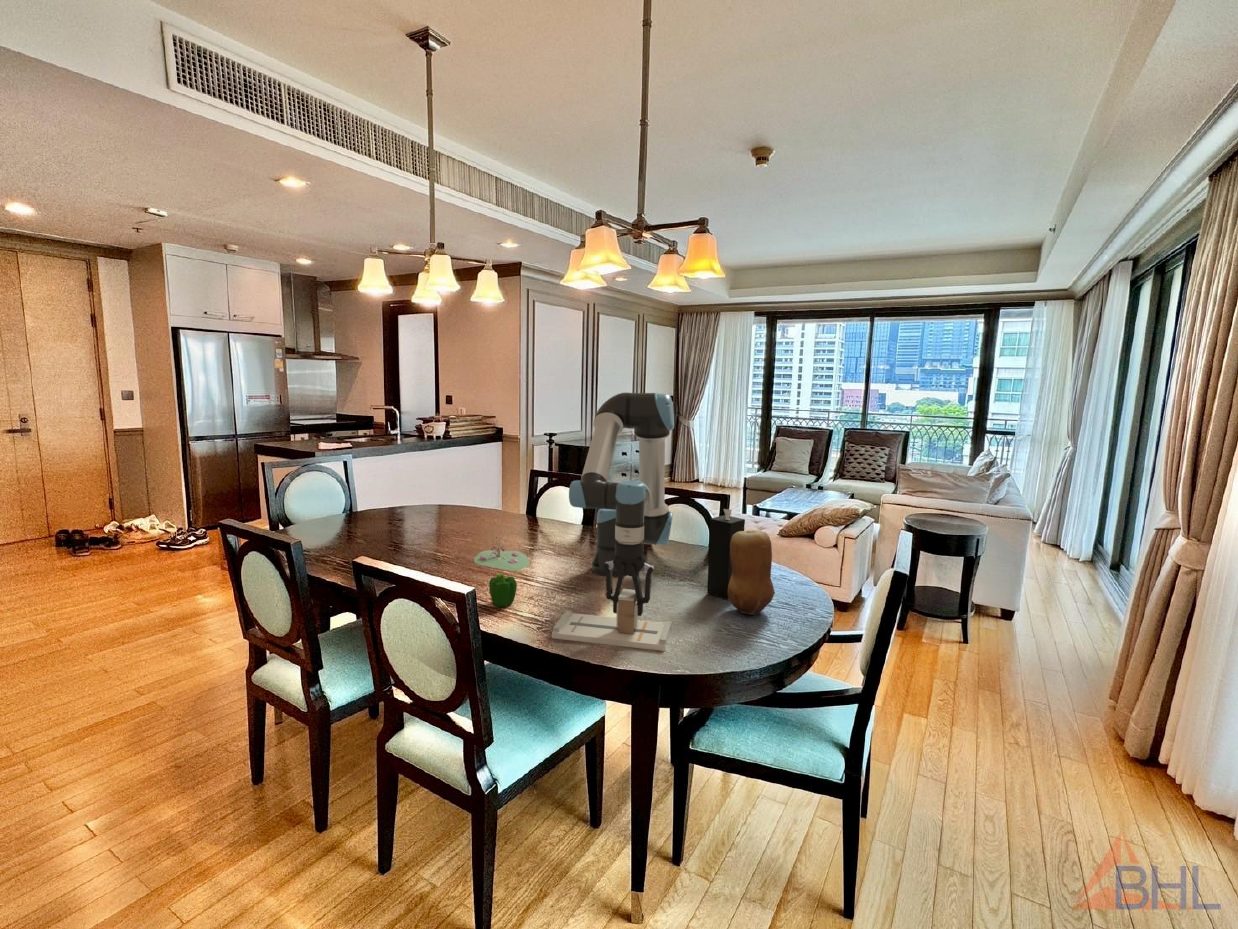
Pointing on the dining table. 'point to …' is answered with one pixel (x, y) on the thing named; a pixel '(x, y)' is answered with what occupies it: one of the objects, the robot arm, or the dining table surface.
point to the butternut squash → (750, 571)
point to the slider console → (611, 631)
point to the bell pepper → (502, 590)
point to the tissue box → (721, 552)
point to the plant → (502, 559)
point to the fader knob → (626, 611)
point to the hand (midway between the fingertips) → (627, 625)
